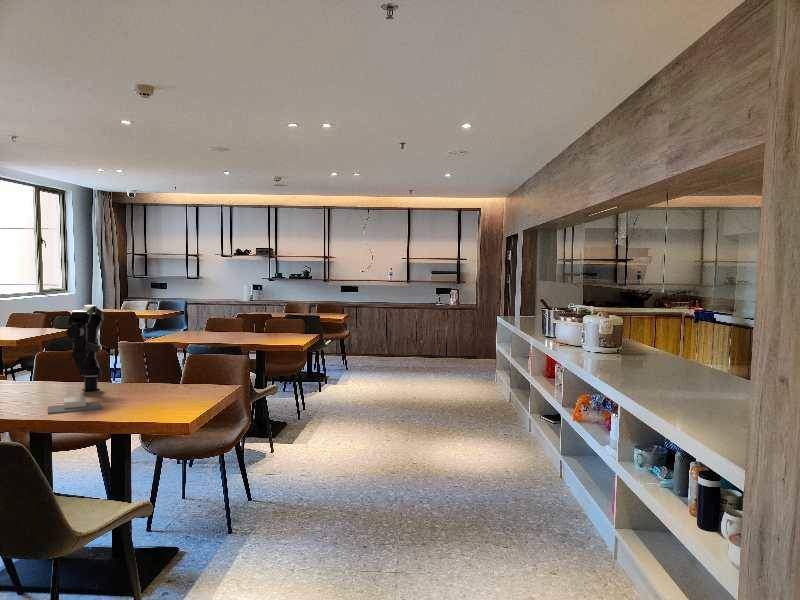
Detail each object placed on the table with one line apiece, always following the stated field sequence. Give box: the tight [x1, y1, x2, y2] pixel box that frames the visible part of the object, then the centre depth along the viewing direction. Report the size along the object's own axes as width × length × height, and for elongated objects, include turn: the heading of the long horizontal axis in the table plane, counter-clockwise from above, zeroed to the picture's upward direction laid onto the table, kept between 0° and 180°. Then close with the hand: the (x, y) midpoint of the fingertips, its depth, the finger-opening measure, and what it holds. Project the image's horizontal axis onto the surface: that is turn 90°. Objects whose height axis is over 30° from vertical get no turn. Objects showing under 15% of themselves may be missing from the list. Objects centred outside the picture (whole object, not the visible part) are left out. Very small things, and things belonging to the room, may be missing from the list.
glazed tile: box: [63, 396, 87, 409], centre depth 251 cm, size 3×8×10 cm
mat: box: [47, 401, 103, 415], centre depth 248 cm, size 13×20×1 cm, turn 122°
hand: (80, 371), depth 268 cm, fingers closed
